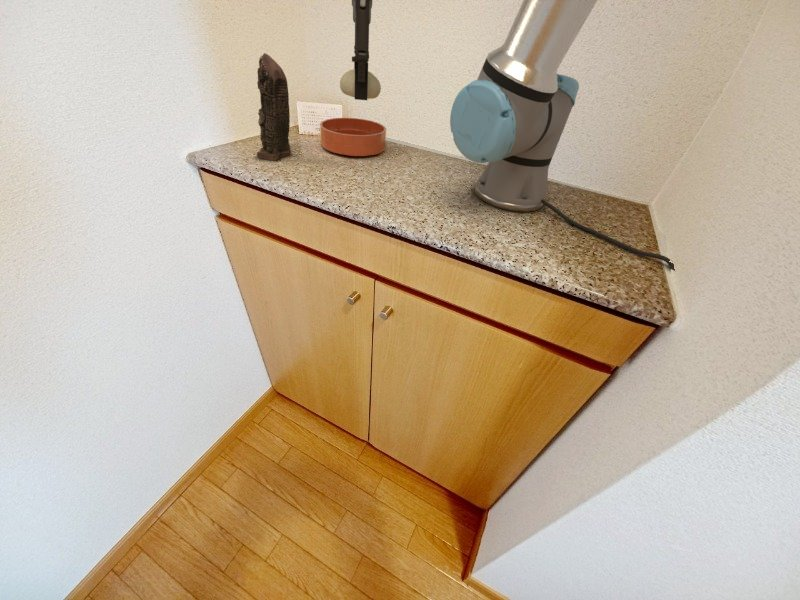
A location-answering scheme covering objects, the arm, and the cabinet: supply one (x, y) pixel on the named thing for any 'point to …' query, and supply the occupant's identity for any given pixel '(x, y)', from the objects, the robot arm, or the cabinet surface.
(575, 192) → the cabinet surface
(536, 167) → the robot arm
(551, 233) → the cabinet surface
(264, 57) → the statue
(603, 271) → the cabinet surface
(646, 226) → the cabinet surface
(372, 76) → the sea urchin shell
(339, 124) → the bowl
